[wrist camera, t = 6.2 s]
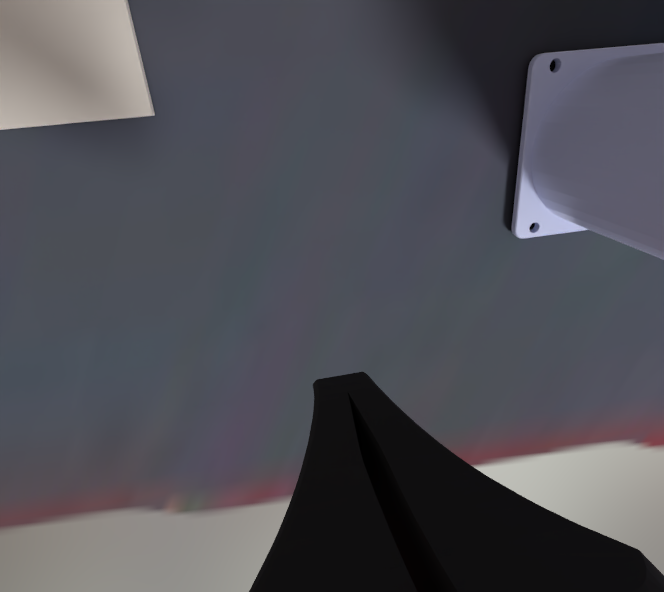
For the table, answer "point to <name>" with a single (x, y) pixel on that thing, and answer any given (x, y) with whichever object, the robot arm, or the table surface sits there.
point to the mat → (69, 63)
